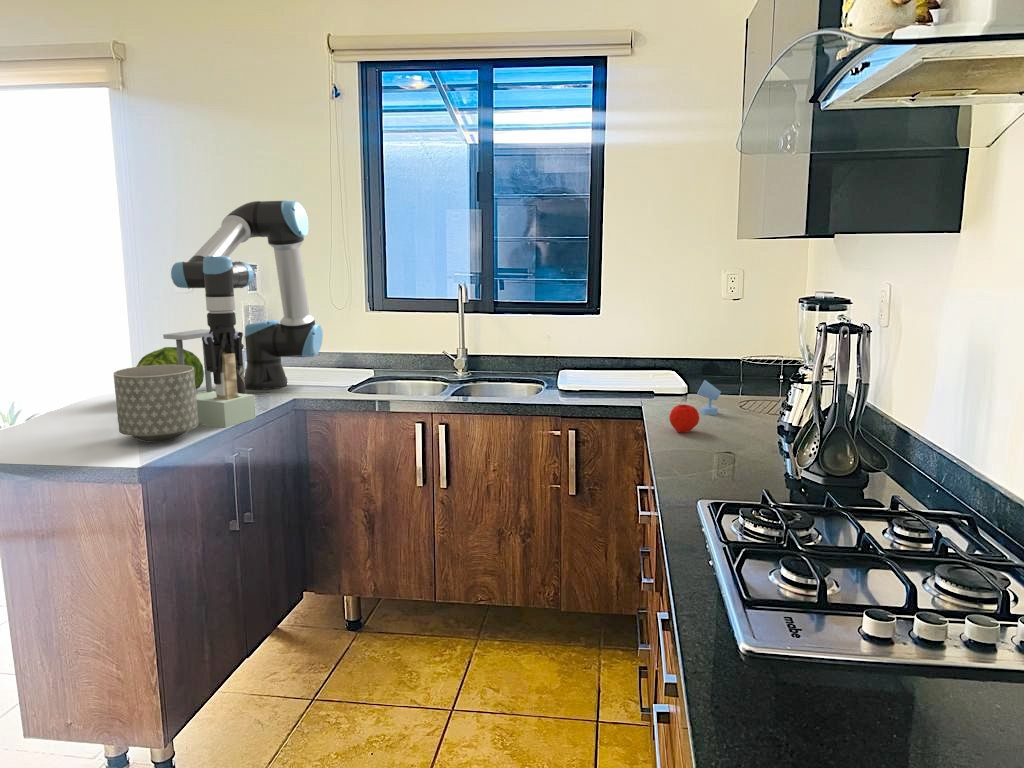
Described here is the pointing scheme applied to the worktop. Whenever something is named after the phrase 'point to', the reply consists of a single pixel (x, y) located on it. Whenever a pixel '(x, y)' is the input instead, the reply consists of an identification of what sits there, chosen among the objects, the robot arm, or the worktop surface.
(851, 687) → the worktop surface
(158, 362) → the lettuce
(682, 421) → the apple
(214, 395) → the socket station
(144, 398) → the planter
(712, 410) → the spotlight
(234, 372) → the peg
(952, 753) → the worktop surface
